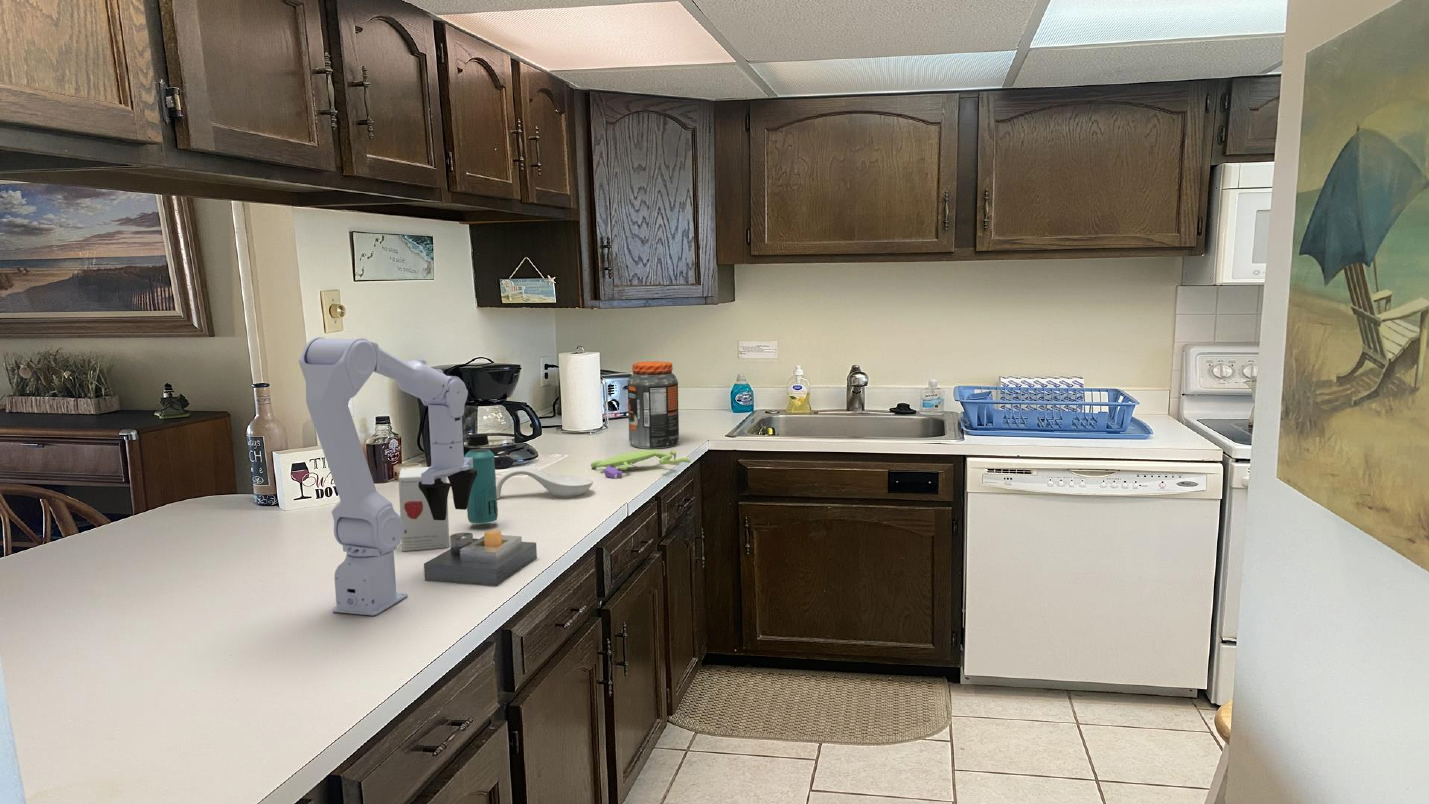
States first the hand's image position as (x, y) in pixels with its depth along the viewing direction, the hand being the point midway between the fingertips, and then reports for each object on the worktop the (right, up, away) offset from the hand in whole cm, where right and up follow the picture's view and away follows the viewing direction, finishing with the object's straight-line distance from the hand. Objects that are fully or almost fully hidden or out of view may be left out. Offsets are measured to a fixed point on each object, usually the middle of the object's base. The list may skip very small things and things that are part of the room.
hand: (450, 514), depth 167 cm
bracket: (+8, -7, -1) cm, 11 cm away
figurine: (+29, +1, +82) cm, 87 cm away
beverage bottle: (-1, -6, +28) cm, 29 cm away
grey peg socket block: (+6, -10, 0) cm, 12 cm away
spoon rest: (+7, -3, +55) cm, 56 cm away
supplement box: (-10, -8, +16) cm, 20 cm away
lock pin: (+8, -10, -1) cm, 13 cm away
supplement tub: (+29, +7, +120) cm, 123 cm away
